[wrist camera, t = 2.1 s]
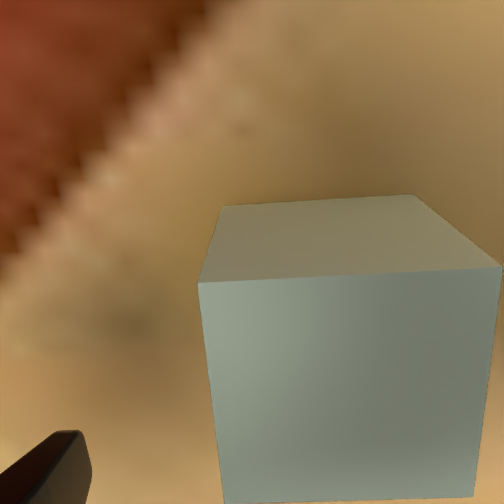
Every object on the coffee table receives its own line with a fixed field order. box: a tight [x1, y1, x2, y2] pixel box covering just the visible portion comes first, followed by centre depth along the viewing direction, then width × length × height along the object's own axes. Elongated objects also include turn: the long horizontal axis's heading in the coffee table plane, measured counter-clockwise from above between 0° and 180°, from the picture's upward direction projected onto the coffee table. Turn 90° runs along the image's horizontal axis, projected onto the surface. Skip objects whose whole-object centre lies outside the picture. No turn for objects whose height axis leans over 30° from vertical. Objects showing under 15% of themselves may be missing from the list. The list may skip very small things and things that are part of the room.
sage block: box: [197, 194, 503, 504], centre depth 11 cm, size 5×5×5 cm
